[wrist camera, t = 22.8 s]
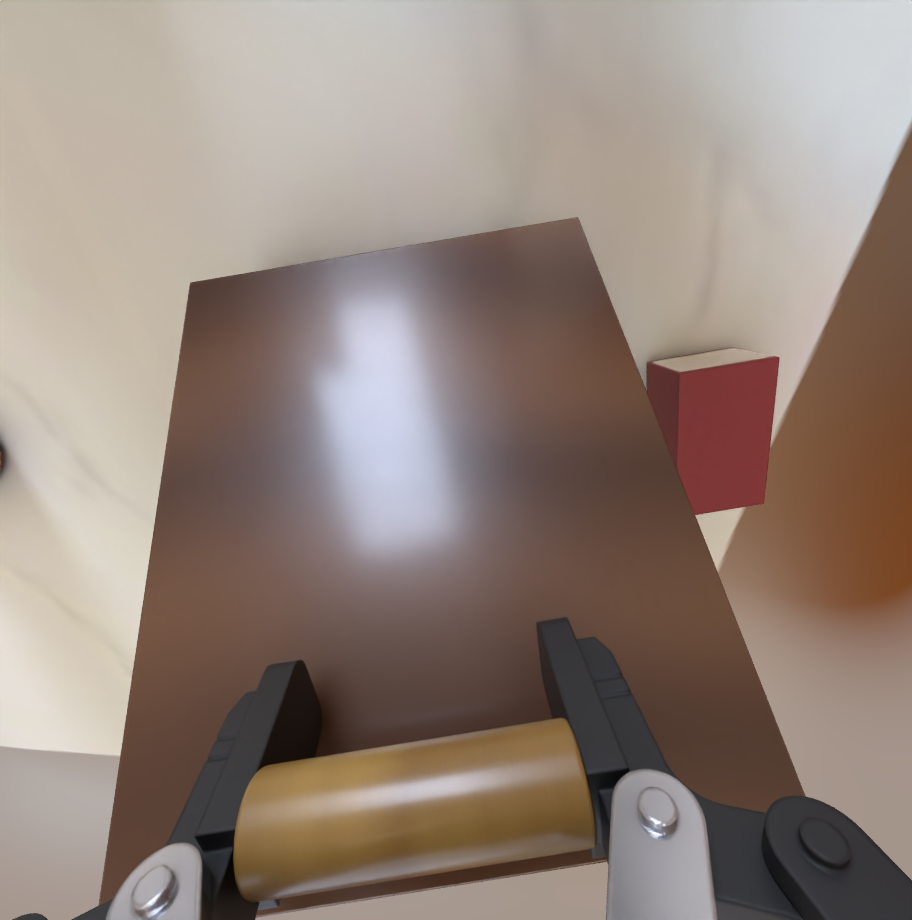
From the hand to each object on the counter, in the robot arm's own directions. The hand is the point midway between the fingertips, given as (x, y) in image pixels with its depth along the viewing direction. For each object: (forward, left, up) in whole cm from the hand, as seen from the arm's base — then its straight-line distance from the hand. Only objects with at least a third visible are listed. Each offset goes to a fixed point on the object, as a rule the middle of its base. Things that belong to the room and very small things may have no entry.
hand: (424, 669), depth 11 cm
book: (+13, +11, -19) cm, 26 cm away
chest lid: (-2, +2, -5) cm, 6 cm away
